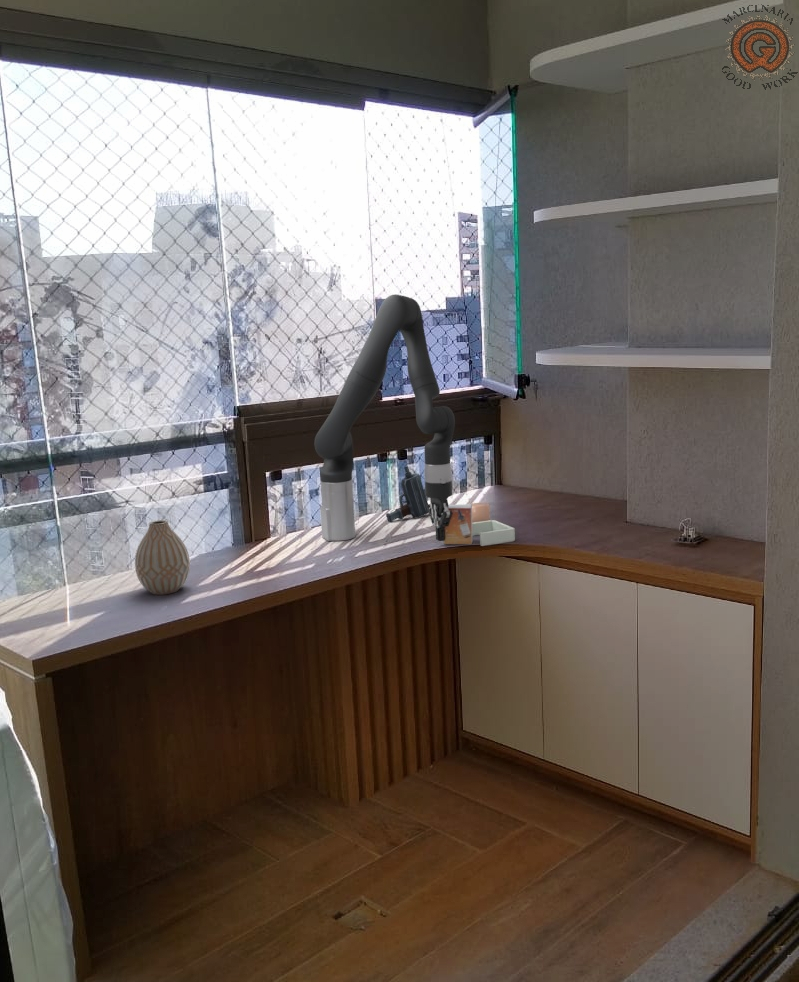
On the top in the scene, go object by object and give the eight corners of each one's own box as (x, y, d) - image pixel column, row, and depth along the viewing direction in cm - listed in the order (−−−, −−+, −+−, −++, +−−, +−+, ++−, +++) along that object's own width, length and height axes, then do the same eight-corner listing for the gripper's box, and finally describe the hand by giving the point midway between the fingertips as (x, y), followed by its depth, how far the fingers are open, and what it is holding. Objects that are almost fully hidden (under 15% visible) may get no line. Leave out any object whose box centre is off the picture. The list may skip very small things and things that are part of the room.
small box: (443, 545, 266) (442, 508, 264) (445, 540, 272) (443, 504, 270) (472, 544, 265) (471, 507, 263) (473, 539, 270) (472, 503, 268)
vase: (128, 592, 235) (120, 523, 232) (174, 580, 244) (167, 513, 241) (155, 602, 226) (148, 530, 223) (202, 589, 235) (196, 520, 231)
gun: (374, 479, 295) (413, 461, 301) (389, 528, 300) (428, 509, 306) (378, 480, 293) (418, 462, 299) (393, 529, 298) (432, 510, 304)
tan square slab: (474, 531, 280) (473, 508, 279) (465, 527, 286) (464, 504, 285) (494, 528, 282) (493, 505, 281) (484, 524, 288) (483, 501, 287)
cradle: (482, 545, 263) (481, 533, 262) (461, 536, 275) (460, 524, 275) (516, 540, 267) (515, 528, 266) (493, 531, 279) (493, 519, 278)
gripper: (416, 477, 267) (419, 537, 270) (435, 484, 255) (437, 547, 258) (441, 474, 269) (443, 533, 273) (460, 481, 257) (462, 543, 261)
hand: (440, 540), depth 265 cm, fingers closed
